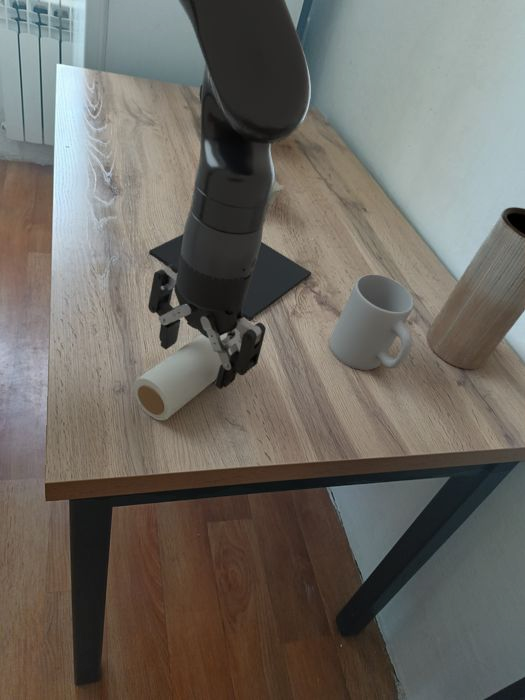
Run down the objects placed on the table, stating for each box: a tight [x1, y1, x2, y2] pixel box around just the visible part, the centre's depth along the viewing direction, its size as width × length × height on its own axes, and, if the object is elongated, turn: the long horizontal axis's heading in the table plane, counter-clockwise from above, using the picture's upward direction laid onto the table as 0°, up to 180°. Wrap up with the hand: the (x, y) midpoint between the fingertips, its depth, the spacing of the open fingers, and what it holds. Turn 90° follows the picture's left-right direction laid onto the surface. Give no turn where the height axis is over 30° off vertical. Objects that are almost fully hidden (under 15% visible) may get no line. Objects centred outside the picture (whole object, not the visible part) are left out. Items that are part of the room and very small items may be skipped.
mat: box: [148, 233, 312, 322], centre depth 87 cm, size 20×18×1 cm
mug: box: [328, 273, 415, 371], centre depth 75 cm, size 12×8×11 cm
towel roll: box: [132, 333, 241, 421], centre depth 65 cm, size 6×14×6 cm, turn 145°
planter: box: [426, 206, 525, 370], centre depth 79 cm, size 10×10×23 cm
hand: (195, 364), depth 64 cm, fingers open, 8 cm apart
